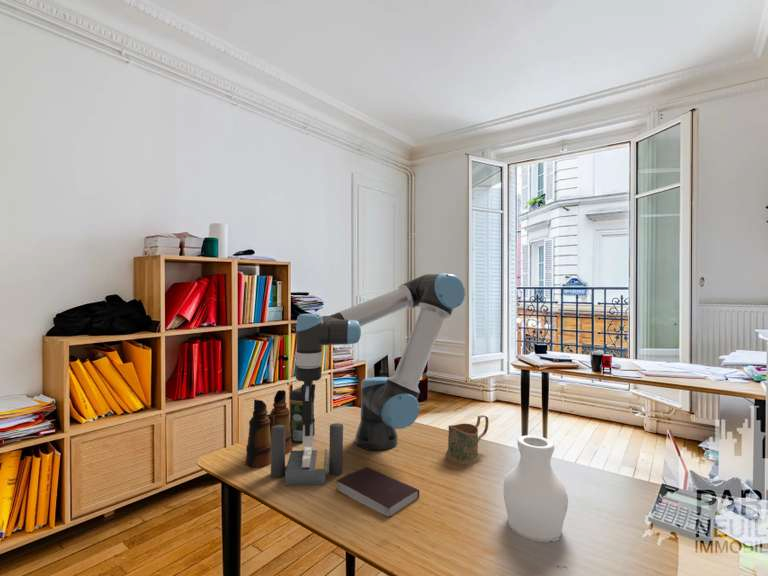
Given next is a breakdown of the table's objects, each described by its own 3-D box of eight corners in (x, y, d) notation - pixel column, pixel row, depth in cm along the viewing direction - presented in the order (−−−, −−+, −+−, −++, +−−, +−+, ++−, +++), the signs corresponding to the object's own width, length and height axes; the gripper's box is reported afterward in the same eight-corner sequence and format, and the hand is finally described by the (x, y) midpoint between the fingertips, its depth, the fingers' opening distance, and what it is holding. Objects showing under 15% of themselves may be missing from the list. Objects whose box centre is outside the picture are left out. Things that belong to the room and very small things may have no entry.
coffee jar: (298, 432, 150) (299, 383, 150) (317, 434, 148) (318, 385, 148) (285, 441, 141) (285, 389, 141) (305, 444, 138) (305, 391, 138)
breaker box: (326, 462, 124) (326, 449, 124) (325, 484, 110) (325, 469, 110) (290, 463, 123) (291, 450, 123) (285, 486, 109) (285, 470, 109)
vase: (582, 539, 88) (583, 450, 88) (527, 550, 84) (529, 457, 84) (539, 505, 101) (540, 428, 101) (490, 513, 97) (492, 433, 97)
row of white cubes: (311, 451, 122) (311, 443, 122) (309, 467, 111) (309, 458, 111) (305, 451, 122) (305, 443, 122) (302, 467, 111) (302, 459, 111)
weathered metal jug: (500, 454, 132) (500, 419, 132) (463, 467, 122) (463, 429, 122) (474, 443, 142) (474, 409, 142) (437, 454, 132) (438, 418, 132)
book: (367, 475, 117) (367, 464, 117) (419, 499, 104) (420, 487, 104) (335, 491, 108) (335, 480, 108) (389, 520, 95) (389, 506, 95)
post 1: (285, 471, 118) (286, 424, 118) (283, 477, 114) (284, 429, 114) (271, 471, 117) (272, 424, 117) (269, 478, 113) (270, 429, 113)
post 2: (342, 468, 120) (343, 423, 120) (342, 475, 116) (343, 427, 116) (329, 469, 119) (329, 423, 119) (328, 475, 116) (329, 428, 116)
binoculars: (260, 470, 118) (261, 404, 118) (239, 465, 121) (240, 400, 121) (297, 448, 135) (297, 390, 135) (277, 444, 138) (278, 387, 138)
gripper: (298, 361, 123) (296, 437, 123) (293, 370, 110) (292, 454, 110) (322, 361, 124) (321, 436, 124) (320, 370, 111) (319, 454, 111)
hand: (307, 445), depth 117 cm, fingers closed
